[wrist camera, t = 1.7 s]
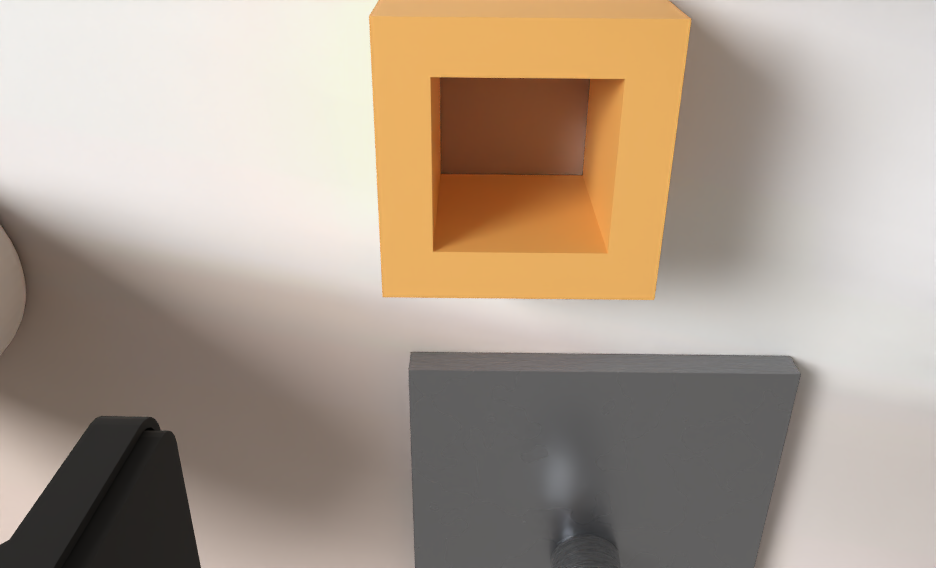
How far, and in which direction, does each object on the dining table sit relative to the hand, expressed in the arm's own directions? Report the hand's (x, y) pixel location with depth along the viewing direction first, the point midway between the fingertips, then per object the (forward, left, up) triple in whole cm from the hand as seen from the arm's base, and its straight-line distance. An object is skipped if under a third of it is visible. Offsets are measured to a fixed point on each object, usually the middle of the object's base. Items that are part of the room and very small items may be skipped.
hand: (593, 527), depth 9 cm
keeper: (+16, +3, -15) cm, 22 cm away
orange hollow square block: (0, 0, -15) cm, 15 cm away
